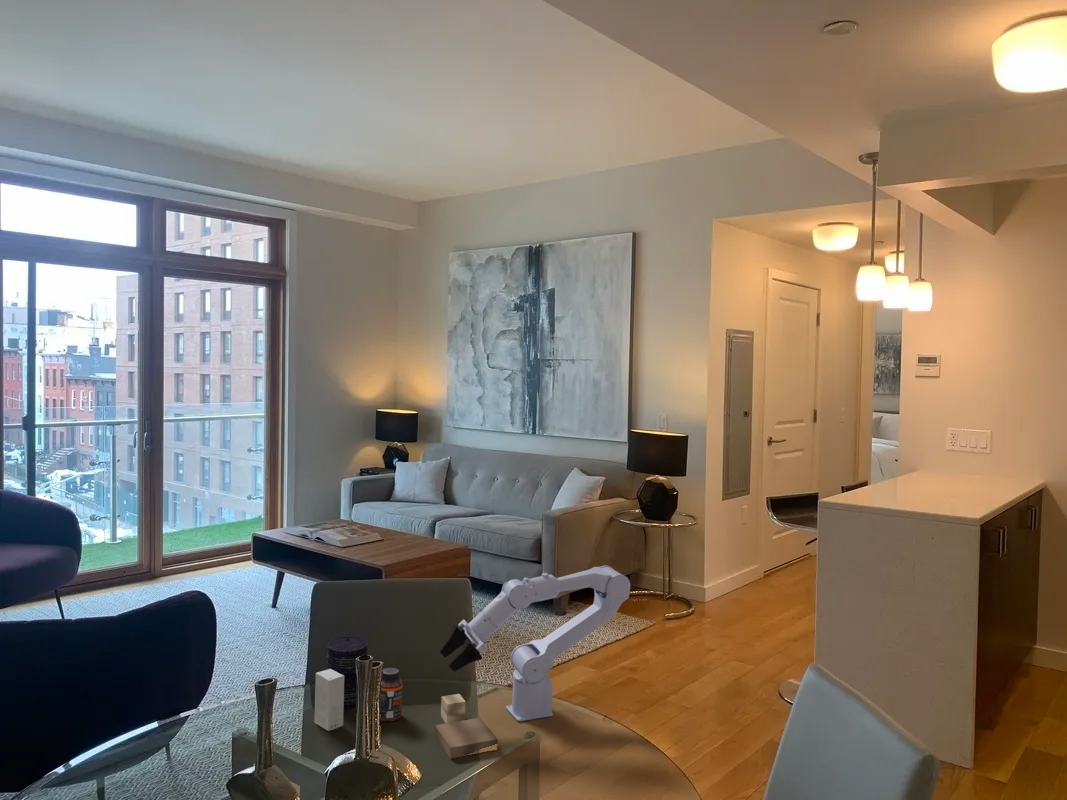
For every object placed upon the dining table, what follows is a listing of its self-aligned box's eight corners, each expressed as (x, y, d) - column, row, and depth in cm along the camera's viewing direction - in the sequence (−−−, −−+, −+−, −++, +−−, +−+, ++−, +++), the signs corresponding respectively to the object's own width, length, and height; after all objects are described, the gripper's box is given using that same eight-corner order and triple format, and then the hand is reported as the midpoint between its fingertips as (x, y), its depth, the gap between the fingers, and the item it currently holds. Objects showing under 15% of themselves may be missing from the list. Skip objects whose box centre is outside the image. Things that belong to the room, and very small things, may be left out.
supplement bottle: (396, 724, 186) (397, 677, 185) (372, 721, 187) (373, 674, 186) (405, 713, 192) (406, 667, 191) (382, 710, 193) (383, 664, 192)
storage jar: (366, 710, 192) (368, 650, 191) (324, 712, 190) (326, 652, 189) (366, 693, 202) (367, 635, 201) (326, 695, 200) (327, 637, 199)
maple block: (458, 713, 193) (459, 693, 192) (464, 721, 189) (465, 701, 188) (440, 716, 191) (441, 696, 190) (446, 724, 187) (447, 704, 186)
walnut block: (479, 730, 186) (480, 717, 186) (497, 752, 176) (497, 739, 176) (434, 738, 181) (435, 725, 181) (450, 761, 171) (450, 747, 171)
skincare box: (343, 726, 184) (345, 675, 183) (327, 732, 181) (329, 680, 180) (329, 717, 188) (330, 667, 187) (313, 722, 185) (314, 672, 184)
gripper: (469, 598, 195) (428, 637, 192) (489, 621, 181) (445, 664, 178) (486, 617, 197) (445, 656, 194) (507, 640, 184) (463, 683, 181)
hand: (446, 661), depth 186 cm, fingers open, 7 cm apart
